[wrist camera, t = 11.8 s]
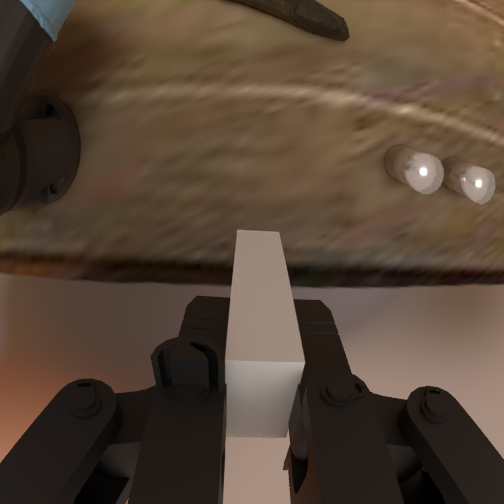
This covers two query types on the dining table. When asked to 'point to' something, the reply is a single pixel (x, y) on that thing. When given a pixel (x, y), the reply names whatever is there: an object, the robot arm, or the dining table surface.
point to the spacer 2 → (468, 180)
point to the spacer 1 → (414, 168)
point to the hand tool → (305, 16)
